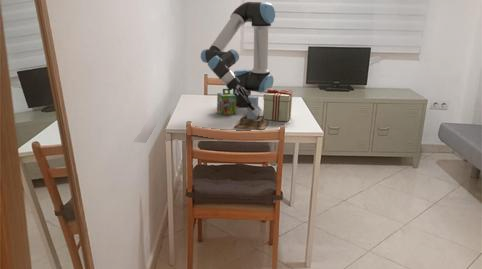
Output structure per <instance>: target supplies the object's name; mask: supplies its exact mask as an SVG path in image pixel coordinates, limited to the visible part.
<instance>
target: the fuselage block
mask: <svg viewBox="0 0 482 269" xmlns="http://www.w3.org/2000/svg"><path fill="white" fill-rule="evenodd" d="M247 99H248V100H249V101H250V103H251V104H253V105H254V106H255V107H256V108H257V109H258V106H259V95H252V94H251V95H249V96H248V98H247ZM246 114H247V119H253V120H257V118H258V115H259V114H258V115H257V116H256V115H255V114H254V113H253V112H252V111H251V109H250V108H249V106H248V107H246Z"/></svg>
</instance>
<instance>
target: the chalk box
mask: <svg viewBox="0 0 482 269" xmlns="http://www.w3.org/2000/svg"><path fill="white" fill-rule="evenodd" d="M226 91H227V92H226ZM216 99H217V100H216V105H217V106H216V109H217V110H216V112H217V113H219V114H220V115H222V116H226V115H228V116H229V115H236V112H237V111H236V109H237V107H236V96H235V95H234V94H233V92H232V93H231V90H229V89H228V88H222V92H219V93H217V98H216Z"/></svg>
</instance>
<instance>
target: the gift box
mask: <svg viewBox="0 0 482 269" xmlns="http://www.w3.org/2000/svg"><path fill="white" fill-rule="evenodd" d="M264 92H266V93H263V98H262V99H263V111H262V112H263V115H262V116H264V121H277V122H288V121H289V119H290V118H291V117H292V104H293V103H292V102H293V96H294V91H292V90H291V89H282V90H278V89H276V88H273V87H272V88H268V89H267V90H265V91H264Z"/></svg>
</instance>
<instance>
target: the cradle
mask: <svg viewBox="0 0 482 269" xmlns="http://www.w3.org/2000/svg"><path fill="white" fill-rule="evenodd" d="M269 122H270V120H265V119H264V116H263V115H259V114H258V118H257V120H253V119H247V113H244V114H243V115H242V116H241V117H240V119H239V121H237V123H236V124H234V128H235V129H240V130H241V129H243V130H255V131H262V130H266V127H267V126H268V125H269Z"/></svg>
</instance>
